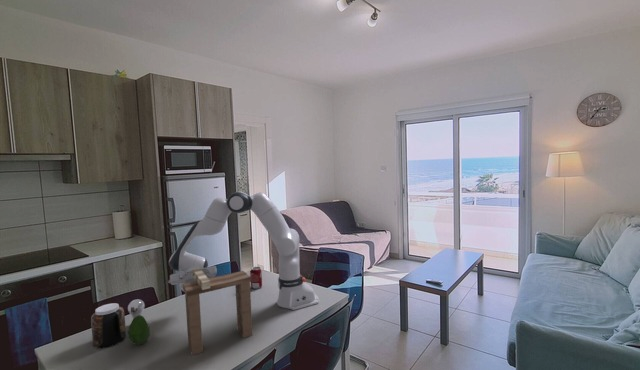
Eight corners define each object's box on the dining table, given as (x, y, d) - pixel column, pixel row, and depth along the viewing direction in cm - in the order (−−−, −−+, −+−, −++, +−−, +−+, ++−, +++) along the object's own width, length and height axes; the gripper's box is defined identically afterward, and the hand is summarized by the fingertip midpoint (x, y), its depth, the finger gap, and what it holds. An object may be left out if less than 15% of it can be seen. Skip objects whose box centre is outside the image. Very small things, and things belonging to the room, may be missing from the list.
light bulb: (125, 326, 149) (123, 302, 148) (138, 319, 155) (136, 296, 154) (136, 328, 146) (134, 303, 145) (149, 321, 153) (147, 297, 152)
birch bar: (192, 275, 141) (192, 268, 140) (199, 274, 142) (199, 267, 142) (202, 290, 124) (202, 282, 123) (210, 288, 125) (210, 280, 125)
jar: (106, 350, 129) (103, 315, 128) (86, 346, 133) (83, 311, 132) (132, 335, 140) (129, 303, 139) (113, 331, 144) (110, 300, 143)
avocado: (145, 336, 140) (143, 310, 139) (153, 342, 135) (151, 315, 134) (125, 344, 133) (123, 317, 133) (133, 351, 128) (130, 322, 128)
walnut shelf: (186, 343, 133) (182, 283, 131) (245, 325, 147) (243, 270, 145) (190, 355, 124) (186, 291, 122) (253, 334, 138) (250, 277, 136)
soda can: (259, 289, 187) (258, 270, 186) (249, 289, 189) (248, 269, 188) (263, 285, 194) (263, 266, 193) (253, 285, 195) (252, 266, 194)
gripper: (167, 276, 146) (169, 268, 136) (212, 267, 157) (217, 259, 147) (168, 289, 144) (171, 283, 134) (214, 280, 155) (220, 273, 145)
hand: (196, 271), depth 140 cm, fingers open, 8 cm apart
